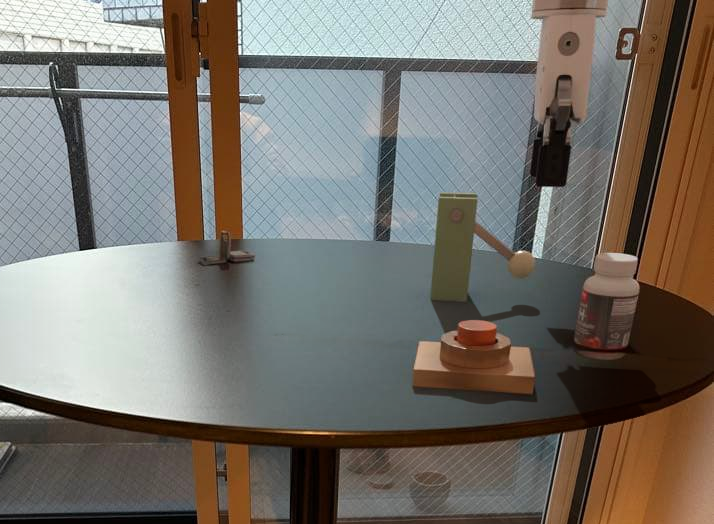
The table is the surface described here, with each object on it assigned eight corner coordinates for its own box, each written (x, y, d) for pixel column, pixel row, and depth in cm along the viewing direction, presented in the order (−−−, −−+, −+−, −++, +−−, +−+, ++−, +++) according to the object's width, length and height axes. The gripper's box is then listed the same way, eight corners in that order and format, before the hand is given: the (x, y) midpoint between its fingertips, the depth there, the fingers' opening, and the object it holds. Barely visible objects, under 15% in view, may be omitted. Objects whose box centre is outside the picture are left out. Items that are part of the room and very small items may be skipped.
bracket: (495, 299, 103) (509, 192, 97) (497, 317, 96) (512, 202, 89) (402, 294, 105) (409, 188, 99) (397, 312, 98) (404, 199, 91)
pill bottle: (560, 349, 85) (577, 253, 80) (599, 343, 87) (618, 249, 82) (596, 364, 81) (616, 264, 76) (636, 357, 83) (658, 259, 78)
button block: (527, 363, 81) (532, 329, 79) (532, 394, 73) (538, 357, 72) (417, 357, 83) (420, 323, 81) (412, 386, 75) (414, 349, 73)
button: (494, 339, 78) (496, 321, 77) (495, 350, 75) (497, 331, 74) (456, 336, 78) (458, 318, 77) (456, 347, 75) (457, 329, 74)
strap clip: (248, 256, 125) (247, 227, 123) (256, 260, 123) (255, 230, 121) (196, 261, 122) (195, 231, 120) (204, 265, 120) (202, 235, 117)
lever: (521, 280, 99) (539, 259, 97) (522, 286, 96) (541, 264, 95) (439, 213, 97) (456, 190, 95) (438, 218, 94) (456, 194, 93)
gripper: (620, -7, 75) (590, 191, 84) (596, 6, 90) (572, 173, 98) (538, -5, 76) (516, 190, 85) (527, 7, 91) (510, 173, 99)
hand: (546, 181), depth 92 cm, fingers open, 9 cm apart
